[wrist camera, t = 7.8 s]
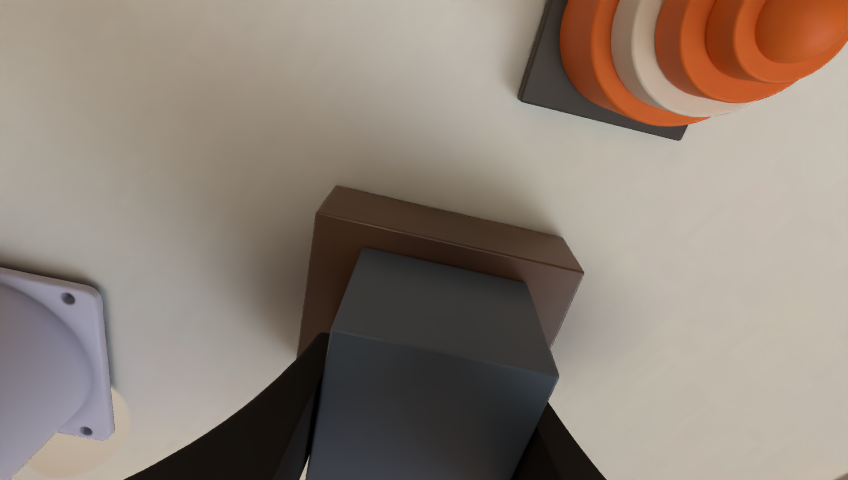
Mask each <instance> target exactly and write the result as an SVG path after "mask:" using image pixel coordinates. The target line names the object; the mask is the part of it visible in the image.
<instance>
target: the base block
mask: <svg viewBox="0 0 848 480" xmlns="http://www.w3.org/2000/svg"><path fill="white" fill-rule="evenodd" d="M363 247H366V248H371V249H375V250H380V251H384V252H389V253H393V254H398V255H402V256H407V257H411V258H416V259H420V260H425V261H429V262H434V263H438V264H443V265H447V266H452V267H456V268H461V269H465V270H470V271H474V272H479V273H483V274H488V275H492V276H497V277H501V278H506V279H510V280H515V281H519V282H524V283H526V284H527V285H528V288H529V291H530V294H531V296H532V299H533V302H534V305H535V308H536V311H537V313H538V316H539V319H540V322H541V325H542V328H543V330H544V333H545V336H546V339H547V342H548V345H549V348H550V349H551V347H552V345H553V343H554V340H555V338H556V336H557V334H558V331H559V329H560V327H561V325H562V322H563V320H564V318H565V316H566V313H567V311H568V309H569V307H570V304H571V302H572V300H573V298H574V295H575V293H576V291H577V289H578V286H579V284H580V282H581V280H582V277H583V275H584V271H583V269H582V268H581V266H580V265H579V263H578V261H577V260H576V258H575V257H574V255H573V253H572V252H571V250H570V248H569V247H568V245H567V244H566V242H565V240H564V239H563V238H560V237H556V236H552V235H547V234H543V233H539V232H534V231H530V230H526V229H521V228H517V227H513V226H508V225H504V224H500V223H495V222H491V221H487V220H482V219H478V218H474V217H469V216H465V215H460V214H456V213H452V212H447V211H443V210H439V209H434V208H430V207H426V206H421V205H417V204H413V203H408V202H404V201H400V200H395V199H391V198H387V197H382V196H378V195H374V194H369V193H365V192H361V191H356V190H352V189H348V188H343V187H339V186H335V187H334V189H333V190H332V192H331V193H330V194H329V196H328V197H327V198H326V200H325V201H324V202H323V204H322V205H321V207H320V208H319V209H318V211H317V212H316V216H315V223H314V231H313V238H312V246H311V253H310V261H309V268H308V276H307V283H306V291H305V298H304V305H303V313H302V320H301V328H300V335H299V343H298V350H297V358H298V357H299V356H300V354H301V353H302V352H303V351H304V350H305V349H306V348H307V347H308V345H309V344H310V343H311V342H312V341H313V339H314V338H315V337H316V335H317V334H319V333H320V332H325V333H329V334H330V332H331V328H332V325H333V323H334V320H335V317H336V315H337V312H338V310H339V307H340V304H341V302H342V299H343V297H344V294H345V291H346V289H347V286H348V284H349V281H350V279H351V276H352V273H353V271H354V268H355V266H356V263H357V260H358V258H359V255H360V253H361V250H362V248H363ZM297 358H296V359H297Z"/></svg>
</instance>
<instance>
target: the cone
mask: <svg viewBox="0 0 848 480" xmlns="http://www.w3.org/2000/svg"><path fill="white" fill-rule="evenodd" d="M847 41H848V0H547V3H546V7H545V10H544V13H543V16H542V20H541V23H540V26H539V29H538V32H537V36H536V39H535V42H534V45H533V49H532V52H531V55H530V58H529V62H528V65H527V68H526V71H525V75H524V78H523V81H522V84H521V88H520V91H519V94H518V99H519V100H520V101H521V102H524V103H528V104H532V105H536V106H540V107H544V108H548V109H552V110H556V111H560V112H565V113H569V114H573V115H577V116H581V117H585V118H589V119H593V120H597V121H601V122H605V123H609V124H613V125H617V126H621V127H625V128H629V129H633V130H637V131H641V132H645V133H649V134H653V135H657V136H661V137H665V138H669V139H673V140H677V141H679V140H681V139H682V137H683V134H684V132H685V130H686V128H687V126H688V124H692V123H696V122H699V121H702V120H705V119H708V118H710V117H712V116H718V115H723V114H727V113H730V112H732V111H735V110H738V109H740V108H742V107H745V106H747V105H749V104H751V103H753V102H754V101H757V100H761V99H764V98H767V97H769V96H772V95H774V94H776V93H778V92H780V91H782V90H784V89H785V88H787V87H789V86H790V85H792V84H793V83H795V82H796V81H797V80H799V79H801V78H803V77H805V76H807V75H810V74H812V73H813V72H815V71H817V70H818V69H820V68H821V67H823V66H824V65H825V64H827V63H828V62H829V61H830V60H831V59H832V58H833V57H834V56H835V55H836V54H837V53H838V52H839V51H840V50H841V49H842V47H843V46H844V45H845V44H846V42H847Z"/></svg>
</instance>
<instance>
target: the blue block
mask: <svg viewBox="0 0 848 480" xmlns="http://www.w3.org/2000/svg"><path fill="white" fill-rule="evenodd" d="M558 379H559V373H558V370H557V367H556V365H555V362H554V359H553V356H552V353H551V350H550V348H549V345H548V342H547V339H546V336H545V333H544V330H543V328H542V325H541V322H540V319H539V316H538V313H537V311H536V308H535V305H534V302H533V299H532V296H531V294H530V291H529V288H528V285H527V284H526V283H524V282H519V281H515V280H510V279H506V278H501V277H497V276H492V275H488V274H483V273H479V272H474V271H470V270H465V269H461V268H456V267H452V266H447V265H443V264H438V263H434V262H429V261H425V260H420V259H416V258H411V257H407V256H402V255H398V254H393V253H389V252H384V251H380V250H375V249H371V248H366V247H363V248H362V250H361V253H360V255H359V258H358V260H357V263H356V266H355V268H354V271H353V273H352V276H351V279H350V281H349V284H348V286H347V289H346V291H345V294H344V297H343V299H342V302H341V304H340V307H339V310H338V312H337V315H336V317H335V320H334V323H333V325H332V328H331V332H330V338H329V344H328V350H327V356H326V362H325V368H324V373H323V379H322V385H321V391H320V397H319V403H318V409H317V414H316V420H315V426H314V432H313V438H312V444H311V450H310V456H309V461H308V467H307V473H306V479H305V480H511V479H512V477H513V475H514V473H515V470H516V468H517V466H518V464H519V462H520V460H521V458H522V455H523V453H524V451H525V449H526V447H527V445H528V443H529V441H530V438H531V436H532V434H533V432H534V430H535V428H536V426H537V424H538V421H539V419H540V417H541V415H542V413H543V411H544V409H545V406H546V404H547V402H548V400H549V398H550V396H551V394H552V392H553V389H554V387H555V385H556V383H557V381H558Z"/></svg>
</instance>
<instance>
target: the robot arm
mask: <svg viewBox="0 0 848 480" xmlns="http://www.w3.org/2000/svg"><path fill="white" fill-rule="evenodd" d="M70 294H71V295H72V296H73V297H72V296H71V295H70ZM329 338H330V334H329V333H325V332H320V333H319V334H317V335H316V337H315V338H314V339H313V341H312V342H311V343H310V344H309V345H308V347H307V348H306V349H305V350H304V351H303V352H302V353H301V354H300V356H299V357H298V358H297V359H296V360H295V361H294V362H293V363H292V364H291V365H290V366H289V367H288V368H287V369H286V370H285V371H284V372H283V373H282V374H281V375H280V376H279V377H278V378H277V379H276V380H275V381H273V382H272V383H271V384H270V385H269V386H268V387H267V388H265V389H264V390H263V391H262V392H261V393H260V394H259V395H258V396H256V397H255V398H254V399H253V400H252V401H250V402H249V403H248V404H247V405H245V406H244V407H243V408H241V409H240V410H239V411H237V412H236V413H235V414H233V415H232V416H231V417H229V418H228V419H227V420H225V421H224V422H222V423H221V424H219V425H218V426H217V427H215V428H214V429H212V430H211V431H209V432H208V433H206V434H205V435H203V436H202V437H200V438H199V439H197V440H195V441H194V442H192V443H191V444H189V445H187V446H185V447H184V448H182V449H180V450H178V451H177V452H175V453H173V454H171V455H170V456H168V457H166V458H164V459H163V460H161V461H159V462H157V463H156V464H154V465H152V466H150V467H148V468H146V469H144V470H143V471H141V472H138V473H136V474H134V475H132V476H130V477H128V478H126V479H124V480H299V479H300V477H301V474H302V472H303V470H304V467H305V465H306V462H307V460H308V457H309V455H310V450H311V444H312V438H313V432H314V426H315V420H316V414H317V409H318V403H319V397H320V391H321V385H322V379H323V373H324V368H325V362H326V356H327V350H328V344H329ZM114 430H115V426H114V416H113V406H112V395H111V385H110V375H109V365H108V355H107V345H106V335H105V324H104V314H103V304H102V298H101V295H100V293H99V292H98V291H97V290H96V289H95V288H93V287H90V286H88V285H83V284H79V283H74V282H69V281H64V280H59V279H55V278H50V277H45V276H40V275H35V274H31V273H26V272H21V271H16V270H12V269H7V268H2V267H0V480H10V479H11V478H12V477H13V476H14V475H15V474H16V473H17V472H18V471H19V470H20V469H21V468H22V467H23V466H24V465H25V464H26V463H27V462H28V461H29V460H30V459H31V458H32V457H33V456H34V454H36V453H37V452H38V451H39V449H41V448H42V447H43V446H44V445H45V444H46V443H47V441H48V440H49V439H50V438H51V437H52V436H53V435H54V434H55V433H56V432H58V433H63V434H68V435H73V436H79V437H84V438H89V439H95V440H107V439H108V438H109V437H110V436H111V435H112V434H113V433H114ZM511 480H606V479H605V477H604V476H603V475H602V474H601V473H600V472H599V470H598V469H597V468H596V467H595V465H594V464H593V463H592V462H591V460H590V459H589V458H588V457H587V455H586V454H585V453H584V452H583V450H582V449H581V448H580V446H579V445H578V444H577V442H576V441H575V440H574V438H573V437H572V436H571V434H570V433H569V431H568V430H567V429H566V427H565V426H564V424H563V423H562V422H561V420H560V419H559V417H558V416H557V414H556V413H555V411H554V410H553V408H552V407H551V405H550V404H549V403H548V402H547V404H546V406H545V409H544V411H543V413H542V415H541V417H540V419H539V421H538V424H537V426H536V428H535V430H534V432H533V434H532V436H531V438H530V441H529V443H528V445H527V447H526V449H525V451H524V453H523V455H522V458H521V460H520V462H519V464H518V466H517V468H516V470H515V473H514V475H513V477H512V479H511Z"/></svg>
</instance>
